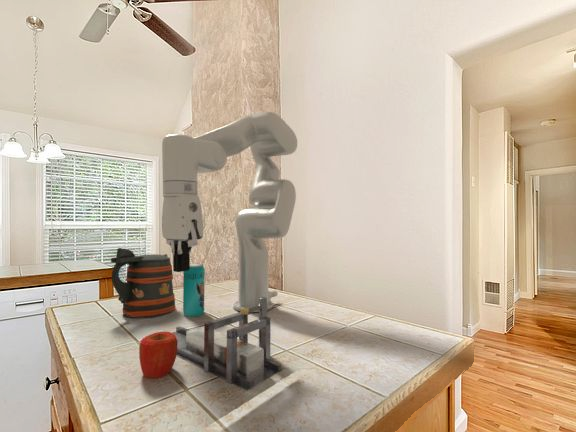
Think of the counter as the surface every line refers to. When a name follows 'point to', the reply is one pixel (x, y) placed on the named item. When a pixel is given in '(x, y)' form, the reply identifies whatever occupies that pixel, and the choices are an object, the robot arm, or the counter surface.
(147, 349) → the apple
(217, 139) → the robot arm
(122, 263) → the beer stein
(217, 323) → the collar
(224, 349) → the white box
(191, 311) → the beverage can
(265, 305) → the frame
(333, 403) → the counter surface
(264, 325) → the collar
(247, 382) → the rail plate
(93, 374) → the counter surface
